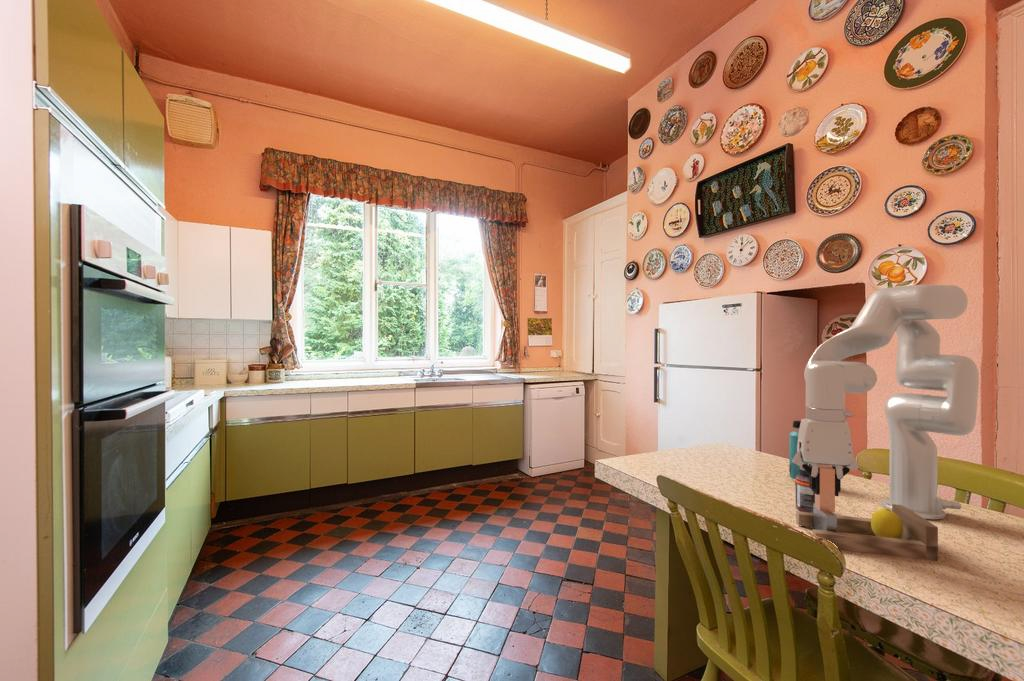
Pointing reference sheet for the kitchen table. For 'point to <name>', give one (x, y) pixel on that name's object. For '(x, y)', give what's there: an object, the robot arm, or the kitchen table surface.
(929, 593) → the kitchen table surface
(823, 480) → the sliding jaw
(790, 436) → the beverage bottle
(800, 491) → the supplement bottle
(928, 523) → the frame
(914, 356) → the robot arm
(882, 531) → the lemon
